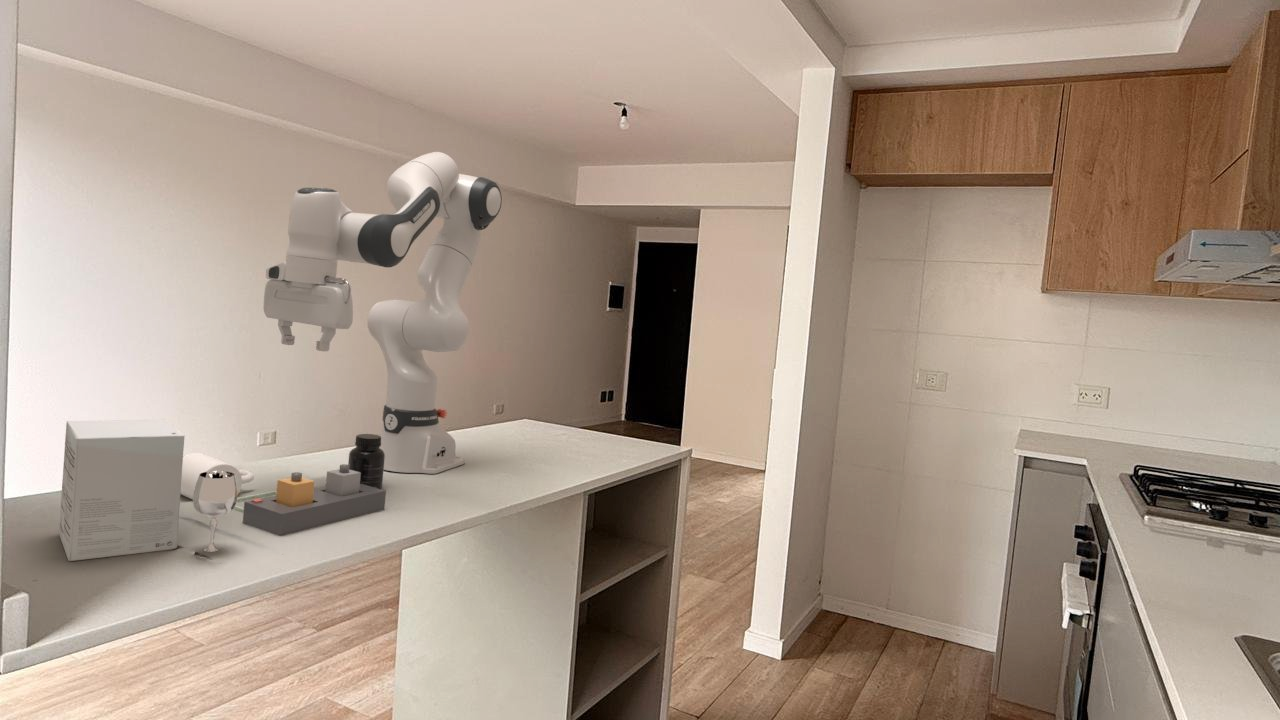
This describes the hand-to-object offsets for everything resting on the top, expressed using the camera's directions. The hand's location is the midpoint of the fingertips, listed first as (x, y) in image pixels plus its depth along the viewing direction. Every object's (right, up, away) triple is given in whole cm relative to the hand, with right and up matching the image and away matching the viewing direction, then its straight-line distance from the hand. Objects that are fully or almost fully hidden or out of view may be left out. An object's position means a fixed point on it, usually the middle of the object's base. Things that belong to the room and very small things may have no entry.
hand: (304, 347), depth 143 cm
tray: (-4, -29, -8) cm, 31 cm away
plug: (+5, -29, -15) cm, 34 cm away
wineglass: (-1, -31, -29) cm, 43 cm away
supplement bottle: (+7, -30, +10) cm, 32 cm away
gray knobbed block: (+9, -29, -6) cm, 31 cm away
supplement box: (-15, -30, -29) cm, 44 cm away
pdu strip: (+7, -31, -11) cm, 33 cm away
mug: (-15, -28, -3) cm, 32 cm away
